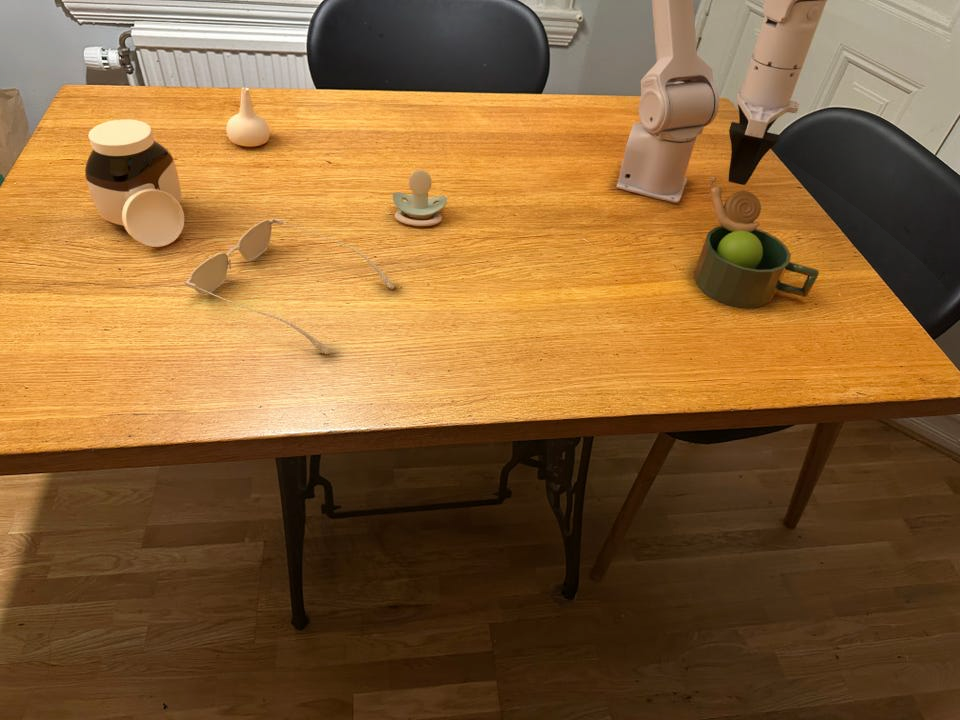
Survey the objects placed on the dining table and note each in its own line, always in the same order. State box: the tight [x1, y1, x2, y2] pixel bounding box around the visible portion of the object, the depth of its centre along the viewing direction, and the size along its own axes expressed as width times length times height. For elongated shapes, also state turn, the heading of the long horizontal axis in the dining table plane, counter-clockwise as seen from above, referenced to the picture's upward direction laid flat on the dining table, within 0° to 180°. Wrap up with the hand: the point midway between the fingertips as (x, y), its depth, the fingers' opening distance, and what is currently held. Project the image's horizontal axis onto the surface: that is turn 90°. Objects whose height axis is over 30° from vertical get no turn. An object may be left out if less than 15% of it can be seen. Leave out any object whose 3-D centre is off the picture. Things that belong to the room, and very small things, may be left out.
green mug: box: [693, 225, 820, 309], centre depth 86 cm, size 14×10×6 cm
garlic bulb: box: [225, 87, 271, 148], centre depth 104 cm, size 6×6×8 cm
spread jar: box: [84, 119, 185, 248], centre depth 85 cm, size 12×11×12 cm
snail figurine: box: [709, 176, 763, 269], centre depth 87 cm, size 5×6×12 cm
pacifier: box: [392, 169, 448, 227], centre depth 93 cm, size 7×6×6 cm
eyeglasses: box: [184, 217, 395, 355], centre depth 79 cm, size 15×18×4 cm
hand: (740, 169), depth 89 cm, fingers open, 7 cm apart
